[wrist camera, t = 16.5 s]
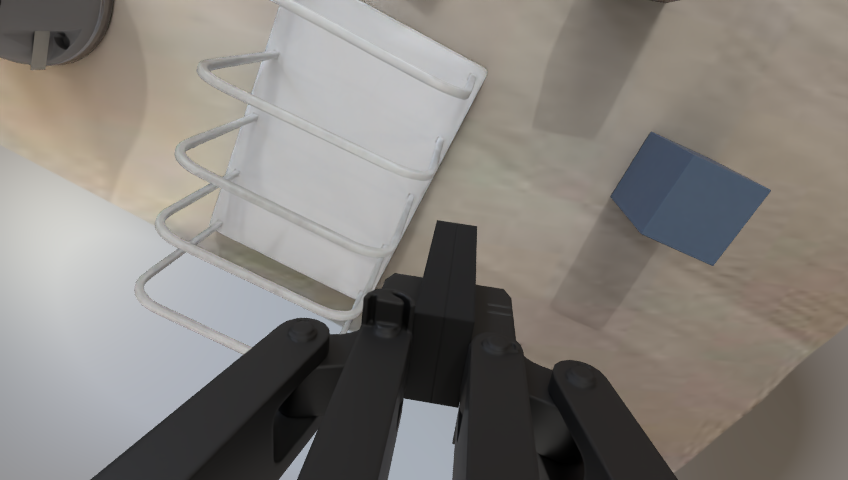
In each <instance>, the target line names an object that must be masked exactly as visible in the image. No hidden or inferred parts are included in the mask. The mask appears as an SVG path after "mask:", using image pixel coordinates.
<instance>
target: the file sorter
mask: <svg viewBox="0 0 848 480" xmlns="http://www.w3.org/2000/svg"><path fill="white" fill-rule="evenodd" d="M270 1H272V2H274V3H276V4H278V5H279V9H278V12H277V15H276V18H275V21H274V24H273V27H272V31H271V34H270V37H269V40H268V43H267V46H266V49H265V52H260V53H252V54H244V55H237V56H229V57H222V58H215V59H207V60H203V61H200V62H199V64H198V66H197V73H198V75H199V76H200V78H201V79H203V80H204V81H205V82H207V83H208V84H210V85H211V86H213V87H215V88H216V89H218V90H220V91H222V92H224V93H226V94H228V95H230V96H232V97H234V98H236V99H238V100H240V101H243V102H245V103H247V104H248V106H247V109H246V112H245V116H244V117H243V118H240V119H238V120H235V121H232V122H230V123H227V124H224V125H222V126H219V127H216V128H214V129H211V130H209V131H206V132H204V133H201V134H198V135H195V136H193V137H190V138H188V139H186V140H184V141H182V142H180V143H179V144H178V145H177V147H176V149H175V158H176V160H177V161H178V163H179V164H180V165H181V166H182V167H183V168H185V169H186V170H187V171H189V172H190V173H192V174H194V175H196V176H198V177H199V178H201V179H203V180H205V181H207V182H209V183H210V184H208V185H207V186H205V187H203V188H201V189H199V190H197V191H196V192H194V193H192V194H190V195H189V196H187V197H185V198H183V199H181V200H180V201H178V202H176V203H174V204H172V205H171V206H169V207H167V208H166V209H164V210H162V211H161V212H160V213H159V214H158V215H157V218H156V221H155V228H156V230H157V232H158V234H159V235H160V236H161V237H162V238H163V239H164V240H165V241H167V242H168V243H169V244H171V245H173V246H175V247H177V248H178V249H177V250H176V251H174V252H173V253H171V254H170V255H168V256H167V257H166V258H164V259H163V260H161V261H160V262H159V263H157V264H156V265H154V266H153V267H152V268H150V269H149V270H148V271H146V272H145V273H144V274H143V275H141V276H140V277H139V279H138V280H137V281H136V284H135V289H134V291H135V296H136V297H137V300H138V301H139V302H140V303H141V304H142V305H143V306H144V307H145V308H147V309H149V310H150V311H152V312H154V313H156V314H158V315H160V316H162V317H164V318H166V319H169V320H171V321H173V322H175V323H177V324H179V325H181V326H183V327H186V328H188V329H190V330H192V331H194V332H196V333H198V334H200V335H202V336H205V337H207V338H209V339H211V340H213V341H215V342H217V343H220V344H222V345H224V346H226V347H228V348H230V349H233V350H235V351H237V352H239V353H241V354H243V355H244V354H245V353H246V352H247V351H249V350H250V349H251V348H252V347H250V346H248V345H246V344H243V343H241V342H239V341H237V340H235V339H232V338H230V337H228V336H226V335H224V334H221V333H219V332H217V331H215V330H213V329H211V328H209V327H207V326H205V325H202V324H201V323H198V322H196V321H194V320H192V319H190V318H188V317H186V316H184V315H182V314H180V313H177V312H175V311H173V310H171V309H169V308H167V307H165V306H162V305H160V304H158V303H157V302H155V301H153V300H152V299H151V298H150V297H149V296H148V295H147V294H146V292H145V291H144V284H145V283H146V282H147V281H148V280H149V279H151V278H152V277H153V276H154V275H156V274H157V273H159V272H160V271H161V270H163V269H164V268H165V267H167V266H168V265H169V264H171V263H172V262H173V261H175V260H176V259H178V258H179V257H180V256H182V255H183V254H184V253H186V252H187V253H189V254H191V255H193V256H195V257H198V258H200V259H202V260H204V261H206V262H208V263H210V264H212V265H214V266H216V267H219V268H221V269H223V270H225V271H227V272H229V273H231V274H234V275H236V276H238V277H240V278H242V279H244V280H246V281H248V282H250V283H252V284H254V285H257V286H259V287H261V288H263V289H265V290H267V291H269V292H272V293H274V294H276V295H278V296H280V297H282V298H284V299H286V300H288V301H290V302H293V303H295V304H297V305H299V306H301V307H303V308H305V309H307V310H309V311H311V312H313V313H316V314H318V315H320V316H323V317H325V318H329V319H334V320H341V321H345V320H346V322H345V324H344V326H343V328H342V330H341V332H340V334H346V333H347V331H348V329H349V327H350V325H351V322H352V320H353V319H354V318H356V317H357V316H359V315H360V313H361V312H362V310H363V299H364V296H365V295H366V294H367V293H368V292H371V291H373V290H374V289H375V287H376V285H377V284H378V282H379V280H380V278H381V276H382V274H383V272H384V270H385V268H386V267H387V265H388V263H389V261H390V259H391V257H392V255H393V253H394V251H395V250H396V248H397V246H398V244H399V242H400V240H401V238H402V236H403V234H404V233H405V231H406V229H407V227H408V225H409V223H410V221H411V219H412V217H413V215H414V213H415V211H416V210H417V208H418V206H419V204H420V202H421V200H422V198H423V196H424V194H425V192H426V191H427V189H428V187H429V185H430V183H431V181H432V179H433V177H434V175H435V173H436V172H437V170H438V168H439V166H440V164H441V162H442V160H443V158H444V156H445V154H446V152H447V150H448V149H449V147H450V145H451V143H452V141H453V139H454V137H455V135H456V133H457V131H458V129H459V128H460V126H461V124H462V122H463V120H464V118H465V116H466V114H467V112H468V110H469V108H470V107H471V105H472V103H473V101H474V99H475V97H476V95H477V93H478V91H479V89H480V87H481V86H482V84H483V82H484V80H485V78H486V76H487V70H486V68H484V67H482V66H481V65H479V64H477V63H475V62H473V61H471V60H469V59H468V58H466V57H464V56H462V55H460V54H458V53H456V52H455V51H453V50H451V49H449V48H447V47H445V46H444V45H442V44H440V43H438V42H436V41H434V40H432V39H431V38H429V37H427V36H425V35H423V34H421V33H419V32H418V31H416V30H414V29H412V28H410V27H409V26H407V25H405V24H403V23H401V22H399V21H397V20H395V19H394V18H392V17H390V16H388V15H386V14H384V13H382V12H381V11H379V10H377V9H375V8H373V7H371V6H370V5H368V4H366V3H364V2H362V1H360V0H270ZM259 61H262V62H261V65H260V68H259V71H258V75H257V78H256V81H255V84H254V87H253V90H252V93H248V92H246V91H244V90H242V89H240V88H238V87H236V86H234V85H232V84H230V83H228V82H226V81H224V80H222V79H221V78H219V77H217V76H216V75H214V74H213V73H211V72H210V71H211V70H215V69H221V68H225V67H231V66H238V65H243V64H249V63H254V62H259ZM239 127H241V128H240V131H239V134H238V137H237V140H236V143H235V146H234V149H233V152H232V156H231V159H230V162H229V165H228V168H227V171H226V174H225V176H223V177H221V176H219V175H217V174H215V173H213V172H211V171H209V170H207V169H205V168H203V167H201V166H200V165H198V164H196V163H195V162H193V161H192V160H191V159H190V158H189V157H188V156H187V155H186V153H185V151H187V150H189V149H191V148H194V147H196V146H198V145H199V144H203V143H204V142H206V141H209V140H211V139H214V138H216V137H218V136H221V135H223V134H225V133H228V132H230V131H232V130H234V129H237V128H239ZM219 187H220V188H221V190H220V193H219V196H218V199H217V202H216V205H215V208H214V211H213V215H212V218H211V221H210V224H209V226H210V227H208V228H207V229H206V230H204V231H203V232H201V233H200V234H198V235H197V236H196V237H194V238H193V239H191V240H190V241H186V240H184V239H182V238H180V237H178V236H177V235H175V234H174V233H172V232H171V231H170V230H169V229H168V228H167V226H166V225H165V220H166V219H167V218H168V217H169V216H171V215H172V214H174V213H176V212H177V211H179V210H181V209H183V208H184V207H186V206H188V205H190V204H191V203H193V202H195V201H197V200H198V199H200V198H202V197H203V196H205V195H207V194H209V193H210V192H212V191H214V190H215V189H217V188H219ZM215 231H217V232H219V233H221V234H223V235H225V236H227V237H229V238H231V239H233V240H235V241H237V242H239V243H241V244H243V245H245V246H247V247H249V248H251V249H253V250H256V251H257V252H259V253H261V254H263V255H266V256H268V257H270V258H272V259H274V260H276V261H278V262H280V263H282V264H284V265H286V266H288V267H290V268H292V269H294V270H296V271H298V272H300V273H302V274H304V275H306V276H308V277H310V278H312V279H314V280H316V281H318V282H320V283H322V284H324V285H326V286H328V287H330V288H333V289H335V290H336V291H338V292H341V293H343V294H344V295H347V296H349V297H351V298H353V299H355V300H356V301H355V303H354V305H353V307H352V309H351V310H349V311H339V310H334V309H330V308H327V307H324V306H322V305H320V304H318V303H316V302H314V301H312V300H309V299H307V298H305V297H303V296H301V295H299V294H297V293H294V292H292V291H290V290H289V289H287V288H285V287H282V286H280V285H278V284H276V283H274V282H272V281H270V280H268V279H265V278H263V277H261V276H259V275H257V274H255V273H253V272H251V271H249V270H246V269H244V268H242V267H240V266H238V265H236V264H234V263H232V262H230V261H228V260H226V259H223V258H221V257H219V256H217V255H215V254H213V253H211V252H209V251H206V250H204V249H202V248H200V247H198V246H196V245H197V244H198V243H199V242H201V241H202V240H204V239H205V238H206V237H208V236H209V235H210V234H212V233H213V232H215Z"/></svg>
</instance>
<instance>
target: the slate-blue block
mask: <svg viewBox="0 0 848 480" xmlns="http://www.w3.org/2000/svg"><path fill="white" fill-rule="evenodd" d="M770 191H771V190H770V189H768V188H766V187H764V186H762V185H760V184H758V183H756V182H754V181H752V180H751V179H749V178H747V177H745V176H743V175H741V174H739V173H737V172H735V171H733V170H731V169H729V168H727V167H726V166H724V165H722V164H720V163H718V162H716V161H714V160H712V159H710V158H708V157H705V156H703V155H701V154H699V153H697V152H695V151H692V150H690V149H688V148H686V147H684V146H682V145H679V144H677V143H675V142H673V141H671V140H669V139H666V138H664V137H662V136H660V135H658V134H656V133H653V132H650V134H649V136H648V137H647V139H646V140H645V142H644V144H643V145H642V147H641V148H640V150H639V152H638V153H637V155H636V157H635V158H634V160H633V161H632V163H631V165H630V166H629V168H628V169H627V171H626V173H625V174H624V176H623V177H622V179H621V181H620V182H619V184H618V185H617V187H616V189H615V190H614V192H613V193H612V195H611V198H612V199H613V200H614V202H615V203H616V204H617V205H618V206H619V208H620V209H621V210H622V211H623V213H624V214H625V215H626V216H627V217H628V219H629V220H630V221H631V222H632V223H633V225H634V226H635V227H636V228H637V230H638V231H639V232H640V233H641V234H642V235H645V236H647V237H649V238H651V239H653V240H656V241H658V242H660V243H662V244H665V245H667V246H669V247H671V248H674V249H676V250H678V251H680V252H683V253H685V254H687V255H689V256H691V257H694V258H696V259H698V260H700V261H703V262H705V263H707V264H709V265H712V266H713V265H714V264H715V263H716V261H717V260H718V259H719V258H720V256H721V255H722V254H723V252H724V251H725V250H726V249H727V247H728V246H729V245H730V243H731V242H732V241H733V239H734V238H735V237H736V236H737V234H738V233H739V232H740V230H741V229H742V228H743V226H744V225H745V224H746V223H747V221H748V220H749V219H750V217H751V216H752V215H753V213H754V212H755V211H756V210H757V208H758V207H759V206H760V204H761V203H762V202H763V200H764V199H765V198H766V197H767V195H768V194H769V193H770Z"/></svg>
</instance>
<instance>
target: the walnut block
mask: <svg viewBox="0 0 848 480" xmlns="http://www.w3.org/2000/svg"><path fill="white" fill-rule="evenodd" d="M651 1H657V2H663V3H668V2H673V1H678V0H651Z"/></svg>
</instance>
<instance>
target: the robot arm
mask: <svg viewBox="0 0 848 480" xmlns="http://www.w3.org/2000/svg"><path fill="white" fill-rule="evenodd" d="M112 7H113V0H0V58H3V59H6V60H9V61H13V62H17V63H21V64H28V65H31V70H43V69H46V66H51V65H63V64H69V63H72V62H75V61H78V60H80V59H82V58H83V57H85V56H87V55H88V54H89V53H90V52H92V51H93V50H94V49H95V48H96V47H97V46H98V44H99V43H100V41H101V40H102V38H103V36H104V35H105V33H106V30H107V28H108V25H109V22H110V19H111V14H112ZM476 246H477V226H471V225H465V224H458V223H451V222H445V221H438V220H437V223H436V227H435V231H434V235H433V239H432V243H431V247H430V251H429V255H428V260H427V264H426V268H425V272H424V276H423V278H422V277H416V276H409V275H403V274H397V273H394V274H393V275H391V276H390V277H389V278H387V279H386V280H385V282H384V285H383V287H382V289H376V290H373V291H371V292H368V293H367V294H366V295H365V296H364V299H363V312H362V325H361V327H360V330H358V331H355V332H351V333H346V334H330V333H329V328H328V327H327V326H326V325H325V324H324V323H322V322H320V321H318V320H315V319H310V318H296V319H293V320H289V321H286V322H284V323H283V324H281V325H279V326H278V327H277V328H276V329H274V330H273V331H272V332H271V333H270V334H268V335H267V336H266V337H265V338H263V339H262V340H261V341H260V342H258V343H257V344H256V345H255V346H254V347H252V348H251V349H250V350H249V351H247V352H246V353H245V354H244V355H243V356H241V357H240V358H239V359H238V360H236V361H235V362H234V363H233V364H232V365H230V366H229V367H228V368H227V369H225V370H224V371H223V372H222V373H221V374H219V375H218V376H217V377H216V378H214V379H213V380H212V381H211V382H210V383H208V384H207V385H206V386H205V387H203V388H202V389H201V390H200V391H198V392H197V393H196V394H195V395H194V396H192V397H191V398H190V399H189V400H187V401H186V402H185V403H184V404H183V405H181V406H180V407H179V408H178V409H177V410H175V411H174V412H173V413H172V414H170V415H169V416H168V417H167V418H165V419H164V420H163V421H162V422H161V423H159V424H158V425H157V426H156V427H154V428H153V429H152V430H151V431H149V432H148V433H147V434H146V435H145V436H143V437H142V438H141V439H140V440H138V441H137V442H136V443H135V444H134V445H132V446H131V447H130V448H129V449H127V450H126V451H125V452H124V453H123V454H121V455H120V456H119V457H118V458H116V459H115V460H114V461H113V462H112V463H110V464H109V465H108V466H107V467H106V468H104V469H103V470H102V471H101V472H99V473H98V474H97V475H96V476H94V477H93V478H92V479H91V480H279V479H280V477H281V476H282V475H283V473H284V472H285V471H286V469H287V468H288V467H289V466H290V464H291V463H292V462H293V461H294V459H295V458H296V457H297V456H298V454H299V453H300V452H301V450H302V449H303V448H304V446H305V445H306V444H307V443H308V441H309V440H310V439H311V437H312V436H313V435H314V433H315V432H316V431H317V430H318V431H317V433H316V435H315V438H314V440H313V443H312V445H311V447H310V450H309V452H308V455H307V457H306V459H305V462H304V464H303V467H302V469H301V471H300V474H299V477H298V479H297V480H388V475H389V470H390V466H391V461H392V456H393V451H394V447H395V442H396V437H397V432H398V428H399V423H400V418H401V413H402V406H403V398H405V399H411V400H417V401H423V402H429V403H434V404H440V405H446V406H452V407H457V408H458V407H459V411H458V416H457V422H456V427H455V432H454V437H453V444H455V450H454V465H453V478H452V480H678V479H677V478H676V476H675V475H674V474H673V472H672V471H671V469H670V468H669V466H668V465H667V464H666V462H665V461H664V459H663V458H662V456H661V455H660V454H659V452H658V451H657V449H656V448H655V446H654V445H653V444H652V442H651V441H650V439H649V438H648V436H647V435H646V434H645V432H644V431H643V429H642V428H641V427H640V425H639V424H638V422H637V421H636V419H635V418H634V417H633V415H632V414H631V412H630V411H629V409H628V408H627V407H626V405H625V404H624V402H623V401H622V399H621V398H620V397H619V395H618V394H617V392H616V391H615V389H614V388H613V387H612V385H611V384H610V382H609V381H608V379H607V378H606V377H605V376H604V375H603V374H602V373H601V372H600V371H599V370H597V369H596V368H594V367H592V366H591V365H588V364H586V363H583V362H580V361H573V360H566V361H560V362H559V363H557V364H555V366H554V368H553V370H550V369H548V368H545V367H542V366H540V365H538V364H536V363H533V362H532V361H530V360H529V359H527V358H526V357H525V356H524V354H523V350H522V347H521V345H520V344H519V343H518V342H517V341H516V337H515V328H514V320H513V311H512V302H511V298H510V296H509V295H508V294H507V293H506V291H505V290H504V289H499V288H493V287H487V286H480V285H476ZM459 402H460V405H459Z"/></svg>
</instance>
